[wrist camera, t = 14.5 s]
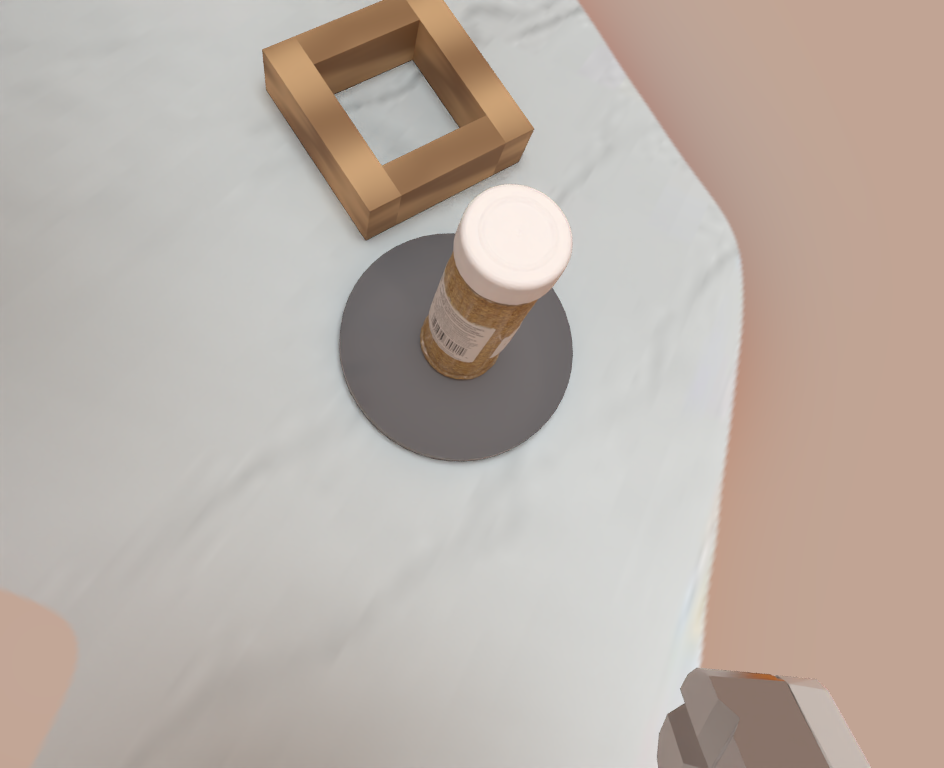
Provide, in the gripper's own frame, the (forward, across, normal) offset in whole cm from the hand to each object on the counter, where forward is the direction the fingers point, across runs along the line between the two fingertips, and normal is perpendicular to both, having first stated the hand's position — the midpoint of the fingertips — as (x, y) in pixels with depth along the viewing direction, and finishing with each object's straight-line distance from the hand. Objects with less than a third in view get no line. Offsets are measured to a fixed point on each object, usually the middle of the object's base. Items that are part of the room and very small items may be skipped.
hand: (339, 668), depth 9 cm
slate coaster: (+33, -5, +12) cm, 35 cm away
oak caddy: (+42, 0, +2) cm, 42 cm away
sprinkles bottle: (+32, -5, +11) cm, 34 cm away
